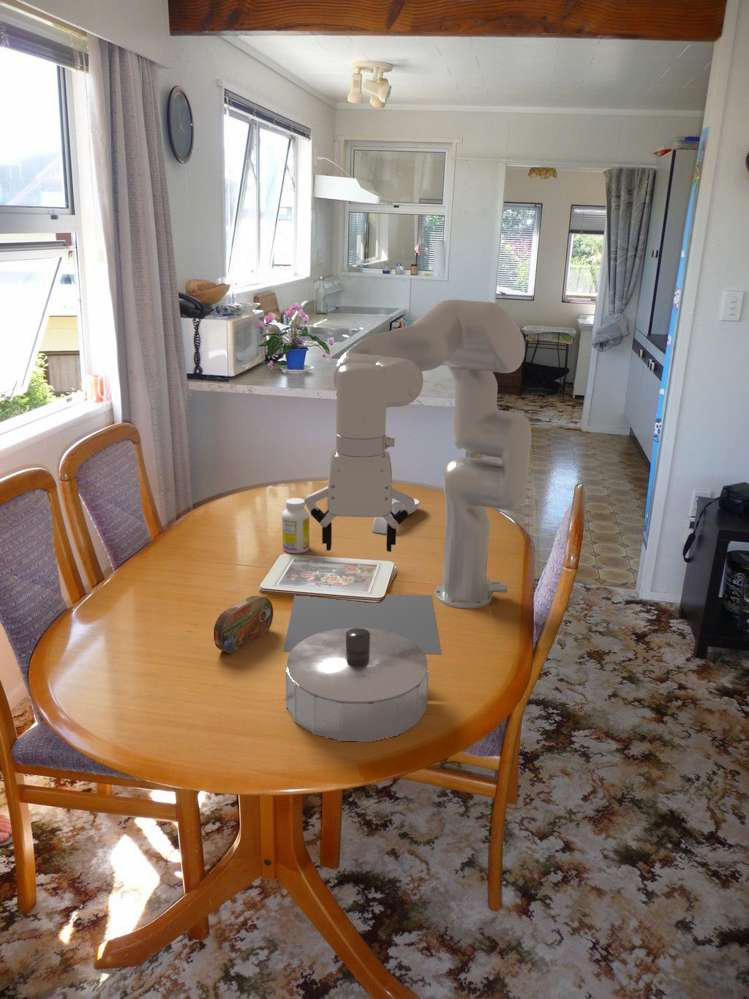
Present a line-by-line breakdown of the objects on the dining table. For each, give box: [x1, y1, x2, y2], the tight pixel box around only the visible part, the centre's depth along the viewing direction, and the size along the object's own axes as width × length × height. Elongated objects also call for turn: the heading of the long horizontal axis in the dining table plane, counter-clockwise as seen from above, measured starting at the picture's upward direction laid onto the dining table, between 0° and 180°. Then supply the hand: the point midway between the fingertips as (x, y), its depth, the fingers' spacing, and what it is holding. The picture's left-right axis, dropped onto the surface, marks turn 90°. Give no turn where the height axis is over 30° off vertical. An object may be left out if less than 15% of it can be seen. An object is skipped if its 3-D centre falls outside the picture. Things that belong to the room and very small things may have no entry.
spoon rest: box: [371, 497, 420, 535], centre depth 225 cm, size 24×12×7 cm, turn 164°
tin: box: [213, 595, 274, 655], centre depth 157 cm, size 15×3×8 cm, turn 148°
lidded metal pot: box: [285, 628, 430, 743], centre depth 138 cm, size 24×24×13 cm
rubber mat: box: [283, 593, 442, 655], centre depth 167 cm, size 30×26×1 cm
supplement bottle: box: [281, 497, 310, 555], centre depth 202 cm, size 7×7×13 cm
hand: (358, 548), depth 131 cm, fingers open, 9 cm apart
